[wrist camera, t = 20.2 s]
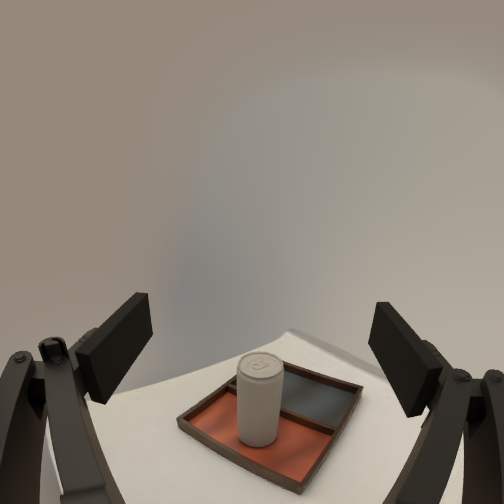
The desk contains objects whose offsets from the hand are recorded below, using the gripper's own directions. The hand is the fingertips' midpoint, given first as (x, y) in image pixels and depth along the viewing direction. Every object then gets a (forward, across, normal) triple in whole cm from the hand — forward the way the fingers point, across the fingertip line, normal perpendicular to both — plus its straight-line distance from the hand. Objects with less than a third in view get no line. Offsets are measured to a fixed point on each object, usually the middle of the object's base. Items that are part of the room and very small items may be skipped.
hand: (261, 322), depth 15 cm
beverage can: (+10, 0, -22) cm, 24 cm away
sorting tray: (+14, +3, -22) cm, 27 cm away
